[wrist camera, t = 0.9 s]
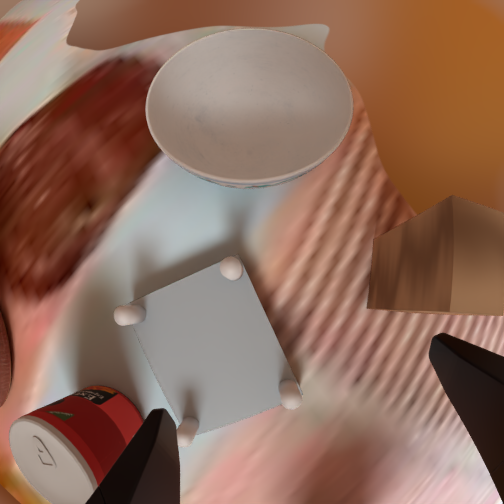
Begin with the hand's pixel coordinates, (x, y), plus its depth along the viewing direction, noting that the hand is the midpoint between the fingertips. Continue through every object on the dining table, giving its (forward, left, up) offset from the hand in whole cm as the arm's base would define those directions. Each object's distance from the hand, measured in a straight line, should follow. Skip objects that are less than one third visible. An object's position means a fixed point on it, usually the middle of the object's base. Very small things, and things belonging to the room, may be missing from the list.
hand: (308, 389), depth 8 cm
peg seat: (-1, +5, -15) cm, 16 cm away
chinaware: (+17, 0, -16) cm, 23 cm away
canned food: (-8, +16, -16) cm, 24 cm away
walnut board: (+3, -11, -15) cm, 19 cm away
